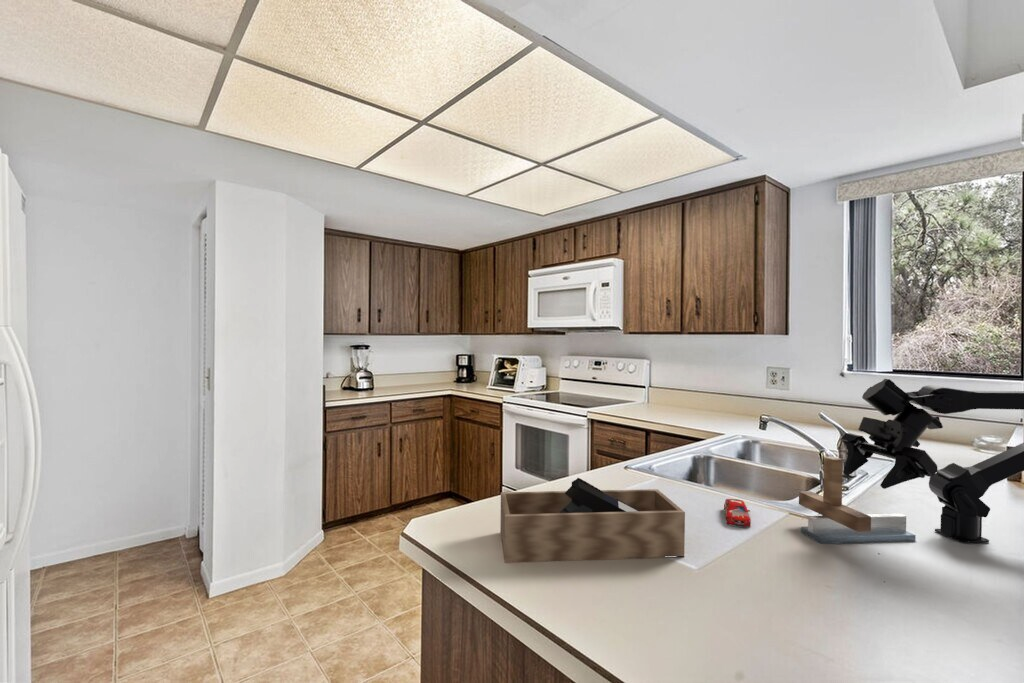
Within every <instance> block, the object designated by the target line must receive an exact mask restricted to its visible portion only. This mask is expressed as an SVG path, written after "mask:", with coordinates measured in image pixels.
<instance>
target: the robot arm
mask: <svg viewBox="0 0 1024 683" xmlns="http://www.w3.org/2000/svg"><path fill="white" fill-rule="evenodd" d="M861 398H862V399H863V400H864V401H865V402H867V403H868V405H870V406H872V407H873V408H874V409H876V410H877V411H878V412H879V413H880V414H882V415H883V416H889V415H890V416H894V418H893V419H887V420H886V421H884V420H880V419H876V418H871V417H866V416H863V417H862V419H861V422H860V425H859V427H858V431H860V432H863V433H865V434H868V438H869V440H870V441H871V442H873V443H869V441H868V440H867V439H866V438H865V437H864V436H863V435H859V434H856V433H852V432H847V433H846V432H845V434H843V435H842V437H841V438H840V441H841V443H843V446H844V447H845V448H846V450H847V456H846V459H845V464H844V468H843V470H842V475H844V476H846V477H848V476H850V475H851V474H853V473H854V472H856V471H857V470H859V469H860V468H861V467H862V466H864V465H866V464H867V463H868V462H869V458H871V457H873V455H878V456H881V457H886V458H889V459H893V460H895V461H894V465H893V466H892V468H891V469H890V470H889V471H888V473H887V474H886V475H885V476H884V478H883V479H882V481H881V483H880V487H881V489H882V490H886V489H889V488H890V487H891V488H892V487H894V486H896V485H900V484H902V483H905V482H907V481H912V480H915V479H919V478H921V479H924V478H925V477H928V478H929V480H928V488H929V490H930V491H931V493H933V494H934V495H935V496H936V497H937V500H938V502H939V503H941V504H943V505H944V506H942V507H941V514H940V528H934V532H935V533H939V534H941V535H943V536H945V537H947V538H950V539H953V540H955V541H958V542H959V543H962V544H976V543H977V544H978V543H981V544H982V543H990V539H988V538H986V537H983V536H982V529H983V524H982V523H983V518H987V517H988V515H989V513H990V511H991V508H990V507H989V506H988V505H987V504H986V503H985V502H984V501H983V500H981V498H983V496H984V495H985V494H986V492H987V491H988V489H989V488H990V487H991V486H993V485H995V484H997V483H999V482H1002V481H1004V480H1006V479H1009V478H1011V477H1013V476H1016V475H1017V474H1020V473H1022V472H1024V442H1022V443H1020V444H1018V445H1015V446H1013V447H1011V448H1008V449H1006V450H1005V451H1002V452H999V453H998V454H996V455H993V456H991V457H989V458H987V459H984V460H982V461H980V462H978V463H976V464H972V465H970V466H965V467H963V466H961V465H960V464H959V465H958V464H957V463H954V462H952V463H950V464H948V465H946V466H945V467H943V468H941V469H940V468H939V469H938V464H937V463H936V462H935V460H934V459H933V458H932V457H931V456H930V455H929V454H928V452H927V451H926V449H925V450H924V449H920V448H918V447H919V446H920V445H921V443H920V442H919V441H918V440H919V439H920V437H921V436H923V434H924V433H925V431H926V430H927V429H928V430H939V429H943V428H944V426H943V423H942V422H941V420H940V417H939V416H933V415H932V414H930V413H929V412H928V411H931V412H933V413H938V414H943V415H948V414H957V413H965V412H968V411H972V410H1021V411H1022V410H1024V391H1022V390H1021V391H1019V390H1018V391H1016V390H965V389H959V388H953V387H952V388H951V387H944V386H939V385H930V384H929V385H923V386H922V387H921V388H920V389H919V390H915V391H908V392H906V391H904V390H903V389H901V388H900V387H899V386H898V385H896V384H895V382H894V381H892V380H891V379H890V378H883V379H882V381H880V382H877V383H875V384H873V385H872V386H869V388H866V390H865V391H864V392H863V394H862V397H861ZM915 405H916V406H917V405H918V406H920V407H921V408H919V407H916V406H915ZM926 410H928V411H926Z"/></svg>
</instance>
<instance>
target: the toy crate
mask: <svg viewBox="0 0 1024 683" xmlns="http://www.w3.org/2000/svg"><path fill="white" fill-rule="evenodd" d="M600 490H601V489H600ZM566 491H567V490H557V491H555V490H554V491H553V490H550V491H507V492H506V491H505V492H504V491H502V492H500V522H499V523H500V527H499V528H500V532H499V533H500V539H501V546H502V553H503V560H504V564H507V563H508V564H509V563H534V562H535V563H536V562H538V563H541V562H564V561H565V562H567V561H569V562H570V561H597V560H598V559H599V560H602V559H603V560H604V559H605V560H626V559H625V558H636V559H653V558H652V557H665V556H684V557H685V545H686V544H685V540H686V538H685V533H686V532H685V530H686V527H685V526H686V511H684V510H683V509H682V508H680V506H678V505H677V504H676V503H674V501H672V500H671V499H670V498H669V497H668V496H667V495H665V494H664V493H663V492H661V491H660V490H659V489H656V488H653V489H651V488H650V489H646V488H645V489H609V490H608V489H605V490H603V489H602V490H601V491H603V493H605V494H607V495H609V496H611V497H613V498H615V499H618V500H620V501H622V502H624V503H626V504H628V505H630V506H632V507H634V508H635V509H637V510H639V511H633V512H591V513H560V512H561V511H562V510H563V509H564V508H565V507H566V506H567V505H568V504H569V503H570V502H571V501H572V499H571V498H570V497H569V496H567V495H566V494H565V492H566ZM650 557H651V558H650ZM623 558H624V559H623ZM599 560H598V561H599ZM603 560H602V561H603Z"/></svg>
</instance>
